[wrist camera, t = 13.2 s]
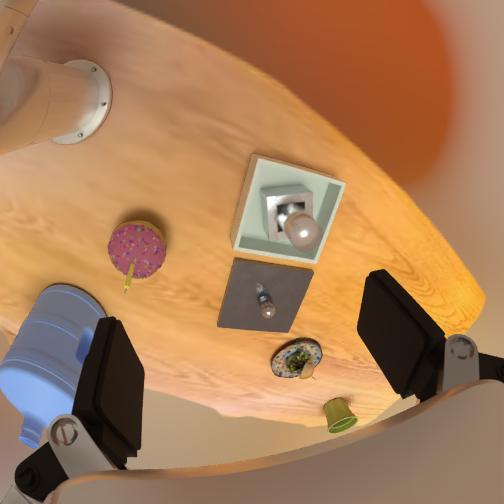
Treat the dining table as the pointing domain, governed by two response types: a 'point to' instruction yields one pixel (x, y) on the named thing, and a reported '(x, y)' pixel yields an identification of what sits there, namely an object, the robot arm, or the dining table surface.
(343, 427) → the plant pot
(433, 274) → the dining table surface
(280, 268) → the stud block
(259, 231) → the bin
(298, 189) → the grey piece
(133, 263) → the cupcake
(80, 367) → the water jug
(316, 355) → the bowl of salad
